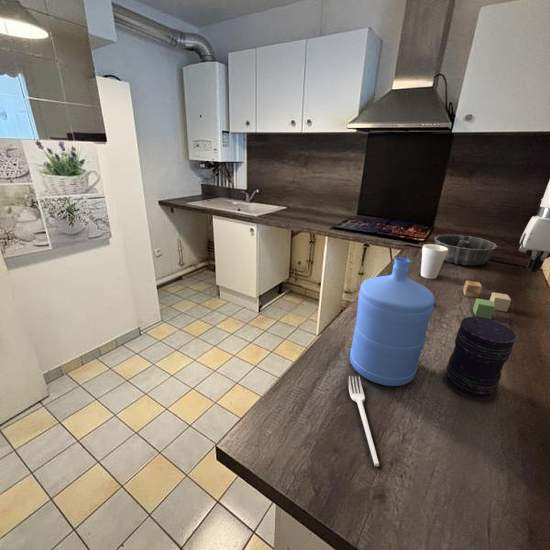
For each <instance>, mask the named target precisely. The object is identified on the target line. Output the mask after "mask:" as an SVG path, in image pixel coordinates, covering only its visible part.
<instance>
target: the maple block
mask: <svg viewBox="0 0 550 550" xmlns="http://www.w3.org/2000/svg"><path fill="white" fill-rule="evenodd" d="M482 288H483V286H482V284H481V283H480V281H472V280H465V281H464V285H463V289H462V293H463V295H464V296H465V297H471V298H475V299H476V298H478V299H480V298H479V297H480V294H481V292H482Z"/></svg>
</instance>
